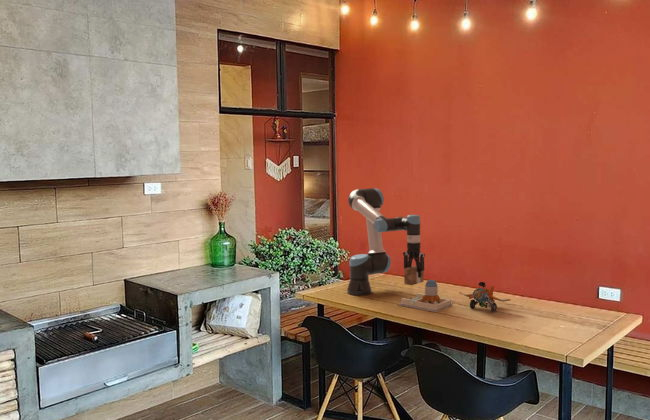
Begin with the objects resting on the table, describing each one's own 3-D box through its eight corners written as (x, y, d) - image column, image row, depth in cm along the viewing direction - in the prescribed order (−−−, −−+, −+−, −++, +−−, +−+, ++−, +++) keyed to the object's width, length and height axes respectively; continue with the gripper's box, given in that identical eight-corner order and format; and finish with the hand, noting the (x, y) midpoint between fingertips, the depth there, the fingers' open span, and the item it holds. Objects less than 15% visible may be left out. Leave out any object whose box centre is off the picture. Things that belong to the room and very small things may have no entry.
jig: (398, 305, 332) (398, 298, 332) (416, 299, 345) (416, 292, 345) (435, 312, 316) (435, 305, 315) (452, 305, 329) (452, 298, 328)
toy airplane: (448, 304, 317) (452, 277, 320) (466, 308, 335) (469, 282, 337) (501, 312, 299) (504, 283, 301) (516, 316, 317) (519, 288, 319)
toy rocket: (439, 303, 333) (443, 279, 329) (440, 311, 323) (444, 287, 318) (421, 301, 334) (425, 276, 329) (421, 309, 323) (425, 284, 319)
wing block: (404, 284, 332) (404, 268, 331) (416, 280, 340) (416, 265, 340) (411, 285, 328) (411, 269, 327) (423, 281, 337) (423, 266, 336)
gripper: (396, 241, 336) (397, 281, 338) (423, 244, 323) (423, 285, 325) (404, 240, 341) (404, 279, 343) (430, 242, 329) (431, 283, 331)
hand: (414, 282), depth 334 cm, fingers closed on wing block, 5 cm apart
